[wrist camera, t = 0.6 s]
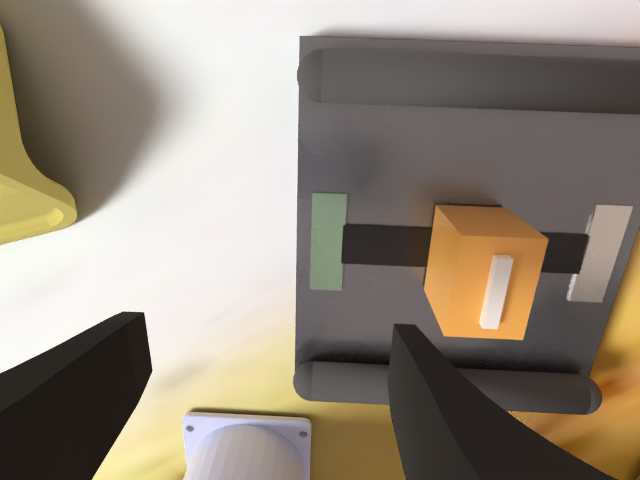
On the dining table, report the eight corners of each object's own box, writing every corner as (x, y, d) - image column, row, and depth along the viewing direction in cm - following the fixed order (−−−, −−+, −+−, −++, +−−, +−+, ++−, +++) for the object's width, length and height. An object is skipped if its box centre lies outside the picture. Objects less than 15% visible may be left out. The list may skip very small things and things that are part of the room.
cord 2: (677, 114, 17) (719, 118, 15) (298, 100, 18) (294, 103, 16) (694, 63, 16) (740, 60, 15) (299, 49, 17) (295, 45, 15)
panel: (568, 388, 24) (581, 405, 23) (296, 374, 24) (294, 391, 23) (676, 51, 17) (702, 49, 16) (302, 38, 18) (299, 35, 16)
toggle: (488, 292, 20) (527, 345, 16) (423, 289, 20) (446, 342, 16) (506, 207, 19) (554, 243, 15) (435, 204, 19) (464, 239, 15)
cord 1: (582, 396, 23) (604, 424, 21) (294, 382, 23) (291, 408, 21) (592, 366, 22) (615, 393, 20) (295, 352, 22) (291, 377, 20)
